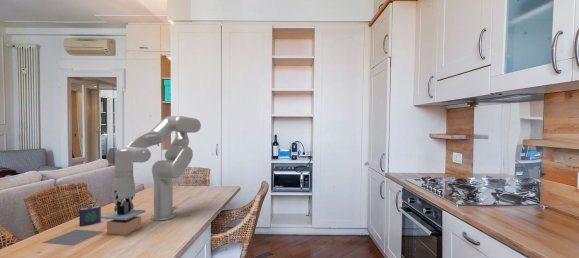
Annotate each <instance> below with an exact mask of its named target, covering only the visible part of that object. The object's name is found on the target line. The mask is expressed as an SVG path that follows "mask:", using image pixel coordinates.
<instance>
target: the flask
mask: <svg viewBox="0 0 579 258" xmlns="http://www.w3.org/2000/svg"><path fill="white" fill-rule="evenodd" d="M101 207H102V206H100V205H97V206H93V204H89V206H87V207H82V208H80V209H79V215H78V216H79V217H78V218H79V219H78V220H79V223H78V225H79V228H80V227H87V226H91V225H97V224H101V223H102V218H101V216H102V208H101Z"/></svg>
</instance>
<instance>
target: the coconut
mask: <svg viewBox="0 0 579 258" xmlns="http://www.w3.org/2000/svg"><path fill="white" fill-rule="evenodd" d="M119 202H121V201H119ZM123 202H125V199H124V201H123ZM134 207H135V206H134V203H133V202H132V203H131V209H133V210H134ZM113 210H114V211H113V212H115V211H117V206H116V204H115V206H114V209H113Z"/></svg>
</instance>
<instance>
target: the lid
mask: <svg viewBox="0 0 579 258" xmlns="http://www.w3.org/2000/svg"><path fill="white" fill-rule="evenodd" d="M123 206H124V214H117V211H113V212H109V213H107V214H105V215H101V219H102V220H103V219H104V220H106V219H107V220H113V219H118V220H127V219H130V218H132V217H134V216H139V215H141V214H143V213H146V210H145V209H134V208H133V209H131V211H130V212H128V202H123Z"/></svg>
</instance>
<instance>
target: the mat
mask: <svg viewBox="0 0 579 258" xmlns="http://www.w3.org/2000/svg"><path fill="white" fill-rule="evenodd" d="M103 233H104V231H103V230H101V231H99V230H88V229H86V230H85V229H73V230H70V231H69V232H66V233H63V234H61V235H58V236H56V237H53V238H50V239H48V240H45V241H42V244H49V245H51V244H53V245H62V246H63V245H64V246H75V245H78V244H81V243H82V242H85V241H87V240H89V239H92V238H94V237H96V236H98V235H101V234H103Z"/></svg>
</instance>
